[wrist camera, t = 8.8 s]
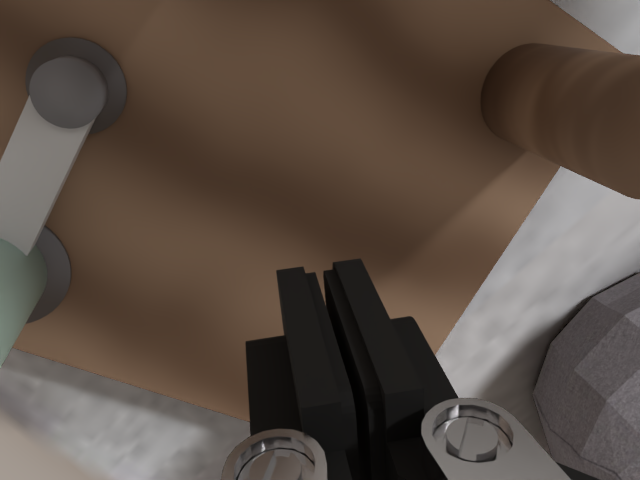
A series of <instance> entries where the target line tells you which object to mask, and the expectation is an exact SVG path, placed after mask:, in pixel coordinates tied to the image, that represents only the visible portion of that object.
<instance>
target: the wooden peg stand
mask: <svg viewBox="0 0 640 480" xmlns="http://www.w3.org/2000/svg"><path fill="white" fill-rule="evenodd" d="M62 56H78V57H82V58H84V59H86V60H88V61H90V62H92V63H93V64H94V65H96V66H97V67H98V68H99V69H100V71H101V72H102V73H103V75H104V77H105V79H106V81H107V85H108V93H109V94H108V100H107V103H106V106H105V107H104V109H103V110H102V111H101V113H100V114H99V115H98V116H97V117H96V119H95V121H94V123H93V125H92V127H91V129H90V131H89V133H88V135H87V137H86V140H85V142H84V144H83V146H82V148H81V150H80V152H79V154H78V156H77V158H76V160H75V162H74V165H73V167H72V169H71V171H70V173H69V175H68V177H67V179H66V181H65V183H64V185H63V188H62V190H61V192H60V194H59V196H58V198H57V200H56V202H55V204H54V206H53V208H52V211H51V213H50V215H49V217H48V219H47V221H46V223H45V225H44V227H43V229H42V231H41V234H40V236H39V238H38V240H37V242H36V244H35V245H36V246H37V247H38V249H39V250H40V252H41V254H42V255H43V257H44V260H45V262H46V267H47V283H46V287H45V289H44V292H43V294H42V295H41V297H40V299H39V301H38V302H37V304H36V306H35V308H34V310H33V311H32V313H31V315H30V317H29V318H28V320H27V322H26V324H25V325H24V327H23V329H22V331H21V332H20V334H19V336H18V338H17V340H16V341H15V343H14V345H13V347H12V348H15V349H18V350H21V351H24V352H28V353H31V354H34V355H37V356H40V357H44V358H47V359H50V360H53V361H56V362H60V363H63V364H66V365H69V366H72V367H76V368H79V369H82V370H85V371H88V372H92V373H95V374H98V375H101V376H104V377H108V378H111V379H114V380H117V381H120V382H124V383H127V384H130V385H133V386H136V387H139V388H143V389H146V390H149V391H152V392H155V393H159V394H162V395H165V396H168V397H171V398H175V399H178V400H181V401H184V402H187V403H191V404H194V405H197V406H200V407H203V408H207V409H210V410H213V411H216V412H219V413H223V414H226V415H229V416H232V417H235V418H239V419H242V420H245V421H248V422H250V415H249V398H248V381H247V364H246V346H245V342H246V341H250V340H256V339H263V338H270V337H276V336H283V335H284V331H283V323H282V315H281V307H280V299H279V291H278V283H277V275H276V270H281V269H288V268H295V267H302V266H303V267H304V270H305V273H311V272H315V273H316V276H317V279H318V282H319V285H320V289H321V292H322V295H323V298H324V302H325V291H324V279H323V271H325V270H333V269H332V266H333V262H338V261H345V260H352V259H359V258H361V260H362V262H363V264H364V266H365V268H366V270H367V272H368V274H369V276H370V278H371V280H372V282H373V284H374V286H375V288H376V291H377V293H378V295H379V297H380V299H381V301H382V303H383V305H384V307H385V309H386V311H387V313H388V315H389V317H390V319H394V318H401V317H407V316H411V317H413V318H414V319H415V321H416V322H417V324H418V326H419V328H420V330H421V331H422V333H423V335H424V337H425V339H426V340H427V342H428V344H429V346H430V348H431V349H432V351H433V353H434V355H435V354H436V353H437V351H438V350H439V348H440V347H441V345H442V344H443V342H444V341H445V339H446V338H447V336H448V335H449V333H450V332H451V330H452V329H453V327H454V326H455V324H456V323H457V321H458V320H459V318H460V317H461V315H462V314H463V312H464V311H465V309H466V308H467V306H468V305H469V303H470V302H471V300H472V299H473V297H474V296H475V294H476V293H477V291H478V290H479V288H480V287H481V285H482V284H483V282H484V281H485V279H486V277H487V276H488V274H489V273H490V271H491V270H492V268H493V267H494V265H495V264H496V262H497V261H498V259H499V258H500V256H501V255H502V253H503V252H504V250H505V249H506V247H507V246H508V244H509V243H510V241H511V240H512V238H513V237H514V235H515V234H516V232H517V231H518V229H519V228H520V226H521V225H522V223H523V222H524V220H525V219H526V217H527V216H528V214H529V213H530V211H531V210H532V208H533V207H534V205H535V204H536V202H537V201H538V199H539V198H540V196H541V195H542V193H543V192H544V190H545V189H546V187H547V186H548V184H549V183H550V181H551V180H552V178H553V177H554V175H555V174H556V172H557V171H558V169H559V168H560V166H562V167H564V168H566V169H569V170H571V171H573V172H575V173H577V174H579V175H582V176H584V177H586V178H588V179H590V180H593V181H595V182H597V183H599V184H601V185H603V186H606V187H608V188H610V189H612V190H614V191H617V192H619V193H621V194H623V195H625V196H627V197H631V198H634V199H640V55H631V54H623V53H622V52H620V51H619V50H618V49H616V48H615V47H613V46H612V45H611V44H609V43H608V42H607V41H605V40H604V39H602V38H601V37H600V36H598V35H597V34H595V33H594V32H593V31H591V30H590V29H588V28H587V27H586V26H584V25H583V24H582V23H580V22H579V21H577V20H576V19H575V18H573V17H572V16H570V15H569V14H568V13H566V12H565V11H563V10H562V9H561V8H559V7H558V6H556V5H555V4H554V3H552V2H551V1H550V0H0V161H1V158H2V156H3V154H4V152H5V149H6V147H7V145H8V143H9V140H10V138H11V136H12V134H13V131H14V129H15V127H16V125H17V122H18V120H19V118H20V115H21V113H22V111H23V109H24V106H25V104H26V102H27V100H28V97H29V95H30V93H29V85H30V80H31V78H32V75H33V74H34V72H35V71H36V69H37V68H38V67H40V66H41V65H42V64H44V63H46V62H48V61H51V60H53V59H56V58H59V57H62ZM325 305H326V302H325Z"/></svg>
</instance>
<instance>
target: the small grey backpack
mask: <svg viewBox="0 0 640 480" xmlns="http://www.w3.org/2000/svg"><path fill="white" fill-rule="evenodd" d="M533 398H534V401H535V404H536V408H537V411H538V414H539V417H540V420H541V423H542V427H543V430H544V433H545V436H546V439H547V442H548V446H549V449H550V452H551V455H552V457H553V459H554V460H555V462H558V463H560V464H563V465H565V466H568V467H570V468H573V469H575V470H578V471H580V472H583V473H585V474H588V475H590V476H592V477H595V478H597V479H600V480H640V273H638V274H636V275H634V276H632V277H630V278H628V279H626V280H625V281H623V282H621V283H619V284H617V285H615V286H613V287H611V288H609V289H607V290H605V291H603V292H601V293H599V294H597V295H596V296H594V297H592V298H591V299H590V300H589V301H588V303H587V304H586V305H585V306H584V307H583V308H582V309H581V310H580V311H579V312H578V314H577V315H576V316H575V317H574V318H573V319H572V320H571V321H570V322H569V323H568V325H567V326H566V327H565V328H564V329H563V330H562V331H561V332H560V333H559V334H558V335H557V337H556V338H555V339H554V340H553V341H552V342H551V344H550V347H549V349H548V352H547V355H546V358H545V361H544V364H543V366H542V369H541V372H540V375H539V378H538V381H537V383H536V386H535V389H534V392H533Z"/></svg>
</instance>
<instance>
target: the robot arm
mask: <svg viewBox="0 0 640 480" xmlns="http://www.w3.org/2000/svg"><path fill="white" fill-rule="evenodd" d="M332 269H333V270H325V271H323V279H324V291H325V302H326V305H325V302H324V298H323V295H322V292H321V289H320V285H319V282H318V279H317V276H316V273H315V272H311V273H305V270H304V267H303V266H302V267H295V268H288V269H281V270H276V275H277V283H278V291H279V299H280V307H281V315H282V323H283V331H284V335H283V336H276V337H270V338H263V339H256V340H250V341H246V342H245V346H246V364H247V381H248V398H249V415H250V433H251V436H250V437H248V438H247V439H246V440H244V441H243V442H241V443H240V444H239V445H237V446H236V447H235V449H234V450H233V451H232V452H231V454H230V455H229V456H228V458H227V460H226V463H225V465H224V468H223V472H222V477H221V480H600V479H597V478H595V477H592V476H590V475H588V474H585V473H583V472H580V471H578V470H575V469H573V468H570V467H568V466H565V465H563V464H560V463H558V462H555V461H554V460H553V459H552V458H551V457H550V456H549V455H548V453H547V452H546V451H545V450H544V449H543V448H542V447H541V446H540V444H539V443H538V442H537V441H536V440H535V439H534V438H533V437H532V436H531V434H530V433H529V432H528V431H527V430H526V429H525V428H524V427H523V426H522V424H521V423H520V422H519V421H518V420H517V419H516V418H515V417H514V416H513V415H511V414H510V413H509V412H508V411H507V410H506V409H504V408H502V407H500V406H498V405H496V404H494V403H492V402H488V401H485V400H481V399H477V398H458V396H457V394H456V393H455V391H454V389H453V387H452V385H451V384H450V382H449V380H448V378H447V376H446V375H445V373H444V371H443V369H442V367H441V366H440V364H439V362H438V360H437V358H436V357H435V355H434V353H433V351H432V349H431V348H430V346H429V344H428V342H427V340H426V339H425V337H424V335H423V333H422V331H421V330H420V328H419V326H418V324H417V322H416V321H415V319H414V318H413V317H411V316H407V317H401V318H394V319H390V317H389V315H388V313H387V311H386V309H385V307H384V305H383V303H382V301H381V299H380V297H379V295H378V293H377V291H376V288H375V286H374V284H373V282H372V280H371V278H370V276H369V274H368V272H367V270H366V268H365V266H364V264H363V262H362V260H361V258H359V259H352V260H345V261H338V262H333V266H332Z"/></svg>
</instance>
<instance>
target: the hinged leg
mask: <svg viewBox="0 0 640 480" xmlns="http://www.w3.org/2000/svg"><path fill="white" fill-rule="evenodd" d="M29 93H30V95H29V97H28V100H27V102H26V104H25V106H24V109H23V111H22V113H21V115H20V118H19V120H18V122H17V125H16V127H15V129H14V131H13V134H12V136H11V138H10V140H9V143H8V145H7V147H6V149H5V152H4V154H3V156H2V158H1V161H0V368H1V366H2V364H3V363H4V361H5V359H6V357H7V355H8V354H9V352H10V350H11V348H12V347H13V345H14V343H15V341H16V340H17V338H18V336H19V334H20V332H21V331H22V329H23V327H24V325H25V324H26V322H27V320H28V318H29V317H30V315H31V313H32V311H33V310H34V308H35V306H36V304H37V302H38V301H39V299H40V297H41V295H42V294H43V292H44V289H45V287H46V283H47V267H46V262H45V260H44V257H43V255H42V254H41V252H40V250H39V249H38V247H37V246H36V245H35V244H36V242H37V240H38V238H39V236H40V234H41V231H42V229H43V227H44V225H45V223H46V221H47V219H48V217H49V215H50V213H51V211H52V208H53V206H54V204H55V202H56V200H57V198H58V196H59V194H60V192H61V190H62V188H63V185H64V183H65V181H66V179H67V177H68V175H69V173H70V171H71V169H72V167H73V165H74V162H75V160H76V158H77V156H78V154H79V152H80V150H81V148H82V146H83V144H84V142H85V140H86V137H87V135H88V133H89V131H90V129H91V127H92V125H93V123H94V121H95V119H96V117H97V116H98V115H99V114H100V113H101V111H102V110H103V109H104V107H105V106H106V103H107V100H108V94H109V93H108V85H107V81H106V79H105V77H104V75H103V73H102V72H101V71H100V69H99V68H98V67H97V66H96V65H94V64H93V63H92V62H90V61H88V60H86V59H84V58H82V57H78V56H62V57H59V58H56V59H53V60H51V61H48V62H46V63H44V64H42V65H41V66H40V67H38V68H37V69H36V71H35V72H34V74H33V75H32V78H31V80H30V85H29Z"/></svg>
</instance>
